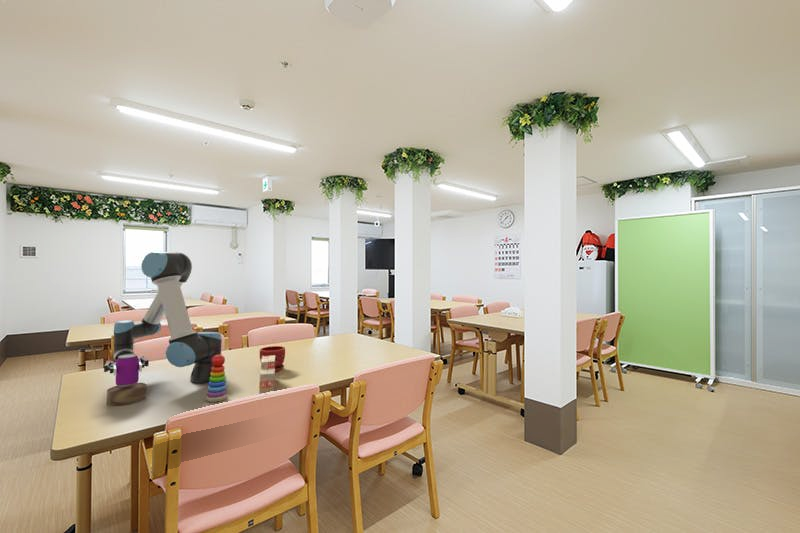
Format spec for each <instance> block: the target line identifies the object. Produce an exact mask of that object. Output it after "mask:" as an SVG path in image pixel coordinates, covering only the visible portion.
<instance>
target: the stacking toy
mask: <svg viewBox="0 0 800 533" xmlns="http://www.w3.org/2000/svg"><path fill="white" fill-rule="evenodd" d="M225 362H226V358H225V356H224V355H222V354H221V355H215V356H214V357H213V358H212V364H213V365H214V366H213V367H212V368H211V370H212V372H211V373H210V375H211V377H210V382H209V383H208V387H207V391H206V396H205V400H206V401H207V402H210V403H217V401H218V402H222V401H224V400H225V399H226V398H228V393H227V384H226V382H227V381H226V372H224V371H225V368H226V367H225V365H224V364H225ZM223 370H224V371H223ZM224 374H225V375H224Z"/></svg>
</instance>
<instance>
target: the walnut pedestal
mask: <svg viewBox="0 0 800 533" xmlns="http://www.w3.org/2000/svg"><path fill="white" fill-rule="evenodd" d="M146 398H147V384H146V383H145V382H137V383H136V384H134V385H131V386H126V387H119V386H117V385H114V386H111V387H110V388H108V389H107V390H106V404H107V405H108V406H113V407H115V406H116V407H119V406H127V405H132V404H135V403H138V402H142V401H143V400H145V399H146Z"/></svg>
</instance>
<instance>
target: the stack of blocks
mask: <svg viewBox="0 0 800 533" xmlns="http://www.w3.org/2000/svg"><path fill="white" fill-rule="evenodd" d="M275 382H276V372H275V355H272V356H262V359H261V361H260V371H259V386H258V387H259V392H258V393H259V394H261V393H266V392H270V391H274V392H275ZM259 394H258V395H259Z"/></svg>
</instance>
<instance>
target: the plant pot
mask: <svg viewBox="0 0 800 533" xmlns="http://www.w3.org/2000/svg"><path fill="white" fill-rule="evenodd" d="M272 355H275V373H276V372H280V371H281V370H283V369H284V368H285V365H284V362H285V358H286V347H285V346H281V345H278V346H277V345H272V346H271V345H270V346H265V347H262V348H260V349H259V360H260V362H261V359H262V356H272Z"/></svg>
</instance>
